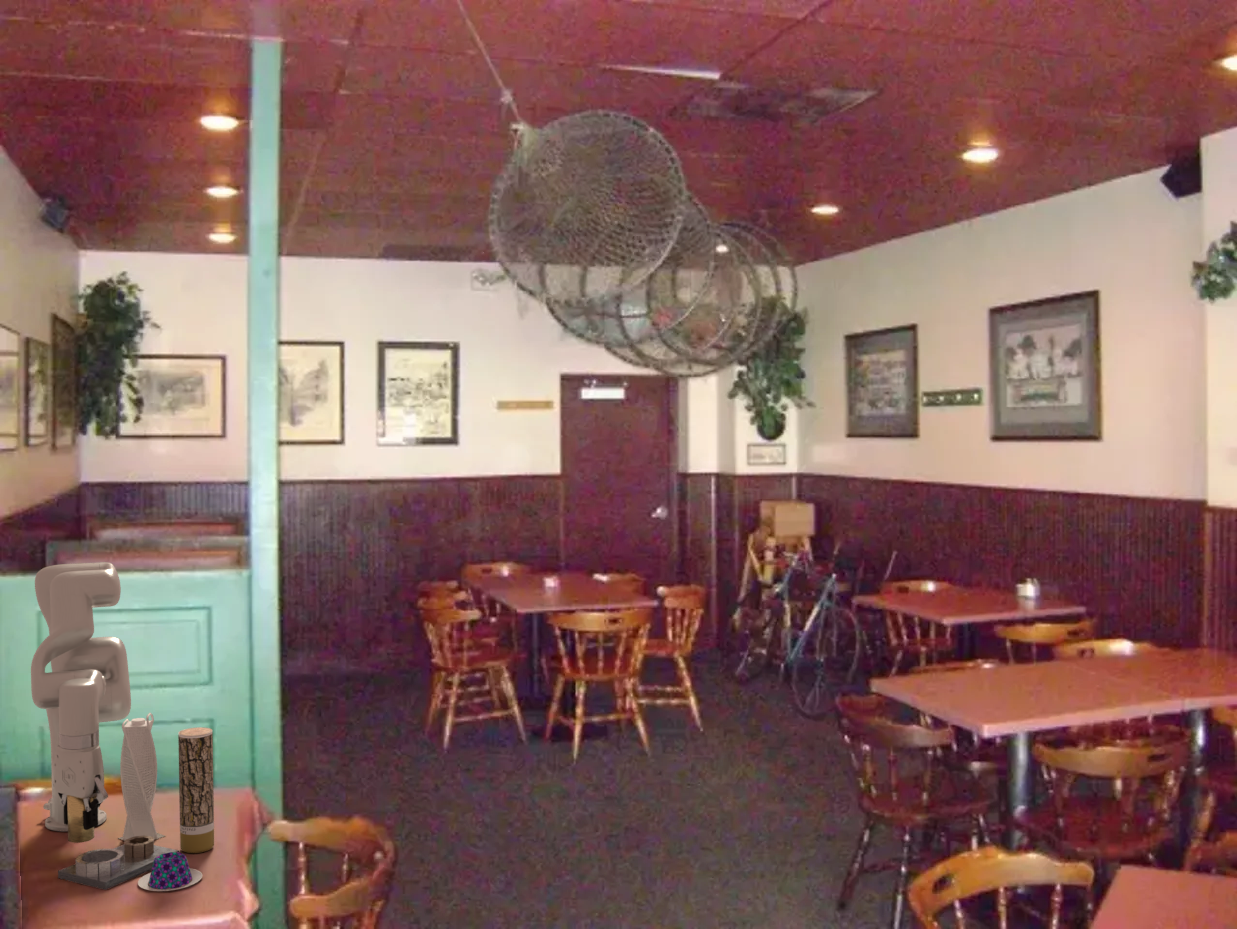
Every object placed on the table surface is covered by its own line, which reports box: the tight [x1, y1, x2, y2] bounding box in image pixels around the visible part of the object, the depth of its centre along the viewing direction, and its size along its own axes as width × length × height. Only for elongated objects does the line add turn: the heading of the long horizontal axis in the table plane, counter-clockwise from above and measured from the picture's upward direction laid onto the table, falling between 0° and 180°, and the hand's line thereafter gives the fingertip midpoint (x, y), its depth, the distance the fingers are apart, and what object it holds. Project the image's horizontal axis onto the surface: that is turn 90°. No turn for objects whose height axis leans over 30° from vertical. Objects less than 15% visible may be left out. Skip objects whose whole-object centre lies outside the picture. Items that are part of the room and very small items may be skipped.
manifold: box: [57, 836, 180, 891], centre depth 257 cm, size 13×19×4 cm
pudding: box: [137, 851, 203, 892], centre depth 250 cm, size 12×12×5 cm
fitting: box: [67, 795, 95, 844], centre depth 264 cm, size 5×5×10 cm
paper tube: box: [177, 726, 215, 854], centre depth 267 cm, size 7×7×25 cm
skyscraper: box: [117, 712, 166, 842], centre depth 273 cm, size 8×8×28 cm
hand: (81, 824), depth 264 cm, fingers closed on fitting, 5 cm apart
